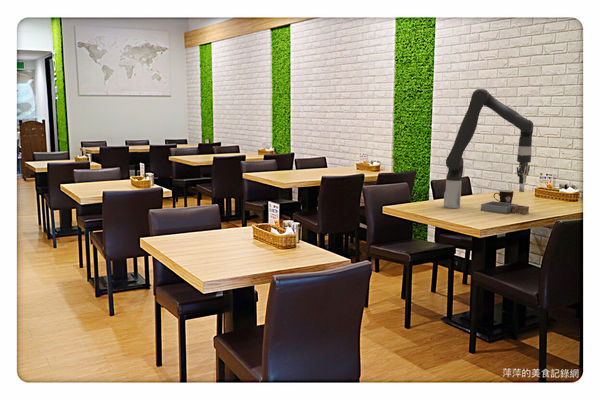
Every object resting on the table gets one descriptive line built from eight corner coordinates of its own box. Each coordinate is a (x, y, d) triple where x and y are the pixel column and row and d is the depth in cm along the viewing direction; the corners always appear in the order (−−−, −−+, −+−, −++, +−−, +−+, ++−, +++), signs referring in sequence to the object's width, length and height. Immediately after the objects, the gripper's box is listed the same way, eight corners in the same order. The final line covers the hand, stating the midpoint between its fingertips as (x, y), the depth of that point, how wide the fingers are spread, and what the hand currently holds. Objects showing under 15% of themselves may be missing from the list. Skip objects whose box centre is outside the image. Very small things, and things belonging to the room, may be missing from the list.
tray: (480, 210, 335) (481, 204, 334) (492, 207, 345) (492, 201, 344) (506, 214, 324) (506, 207, 323) (517, 210, 334) (517, 204, 333)
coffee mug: (513, 205, 351) (514, 190, 349) (512, 208, 343) (513, 192, 341) (494, 204, 356) (494, 189, 354) (492, 206, 348) (493, 191, 346)
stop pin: (518, 191, 325) (519, 174, 323) (520, 191, 327) (521, 174, 325) (523, 192, 323) (524, 175, 321) (525, 191, 325) (526, 174, 323)
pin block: (511, 213, 327) (512, 206, 326) (516, 211, 332) (517, 205, 331) (523, 214, 322) (524, 207, 321) (528, 213, 327) (528, 206, 326)
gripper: (523, 153, 328) (520, 181, 331) (512, 154, 319) (510, 183, 321) (535, 153, 323) (533, 182, 326) (525, 155, 313) (523, 185, 316)
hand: (522, 183), depth 324 cm, fingers closed on stop pin, 3 cm apart
